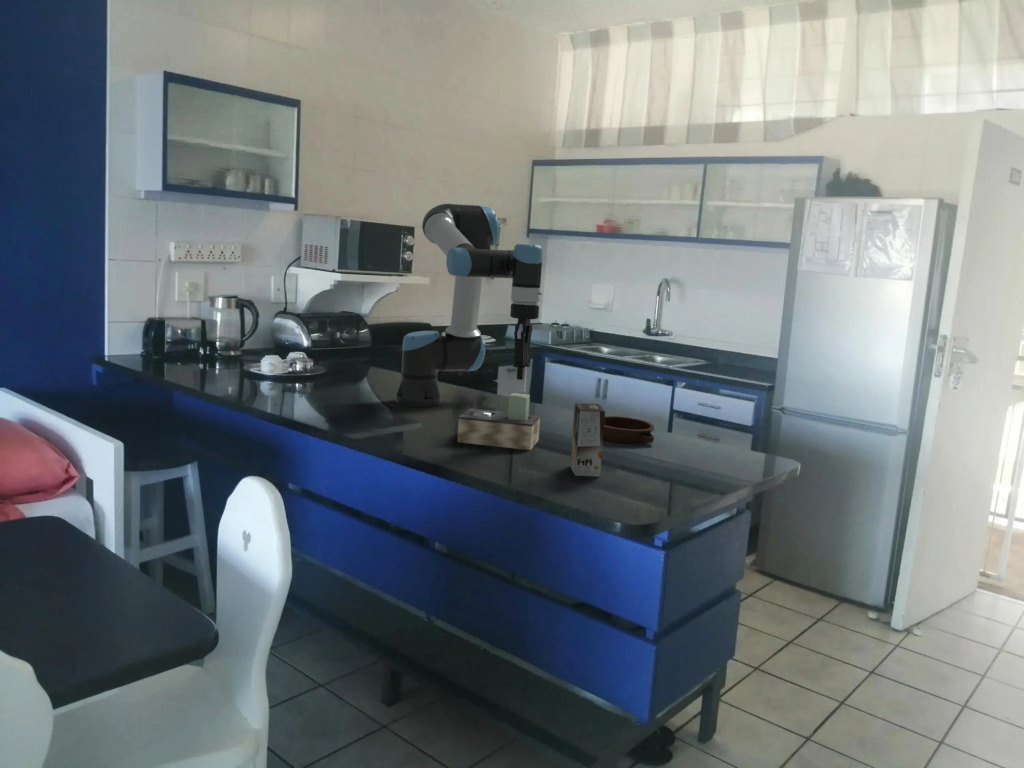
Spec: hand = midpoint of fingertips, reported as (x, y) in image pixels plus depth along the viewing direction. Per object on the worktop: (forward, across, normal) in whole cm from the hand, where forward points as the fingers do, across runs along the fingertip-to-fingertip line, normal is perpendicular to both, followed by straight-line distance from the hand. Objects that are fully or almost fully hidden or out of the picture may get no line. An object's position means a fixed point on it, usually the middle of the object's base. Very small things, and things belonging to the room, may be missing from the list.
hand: (519, 390), depth 223 cm
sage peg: (+9, 0, 0) cm, 9 cm away
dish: (+15, +19, -27) cm, 36 cm away
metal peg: (+14, 0, +10) cm, 17 cm away
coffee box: (+15, -20, -21) cm, 33 cm away
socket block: (+15, 0, +5) cm, 15 cm away
